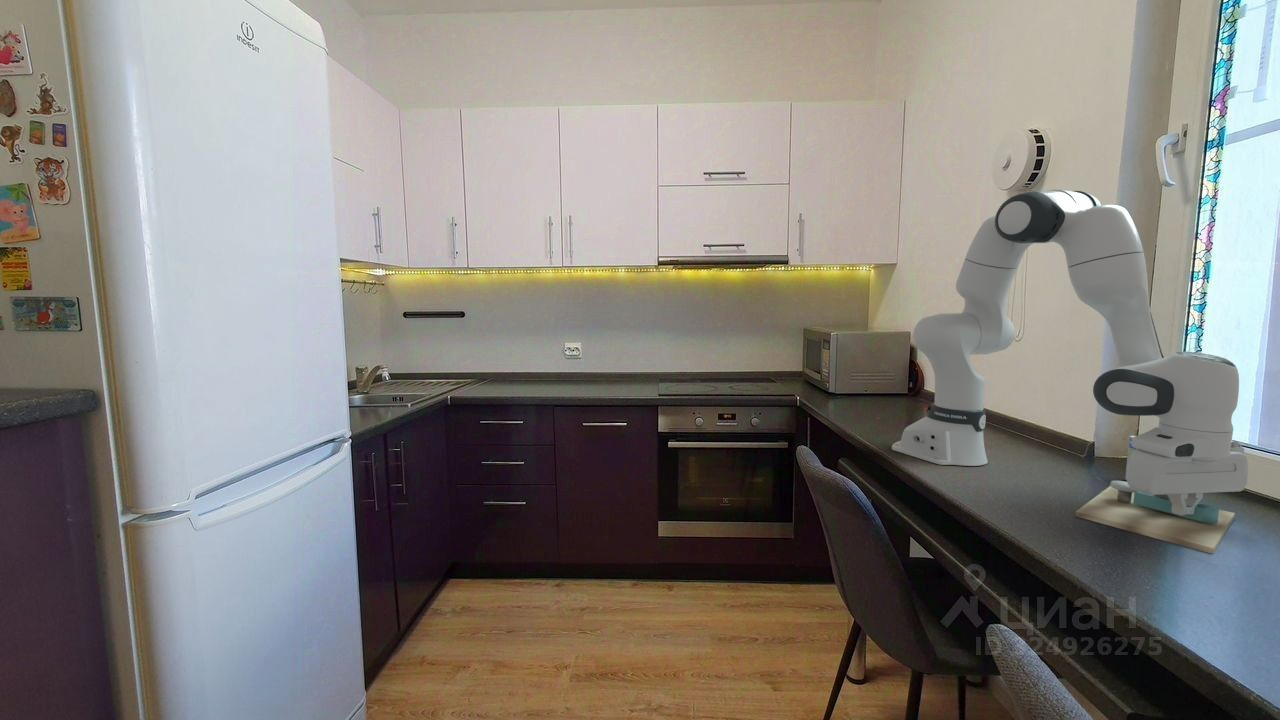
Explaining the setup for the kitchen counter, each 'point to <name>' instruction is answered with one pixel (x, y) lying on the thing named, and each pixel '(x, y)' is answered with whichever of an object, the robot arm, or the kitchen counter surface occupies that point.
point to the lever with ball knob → (1168, 504)
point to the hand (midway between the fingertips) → (1182, 514)
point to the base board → (1154, 521)
